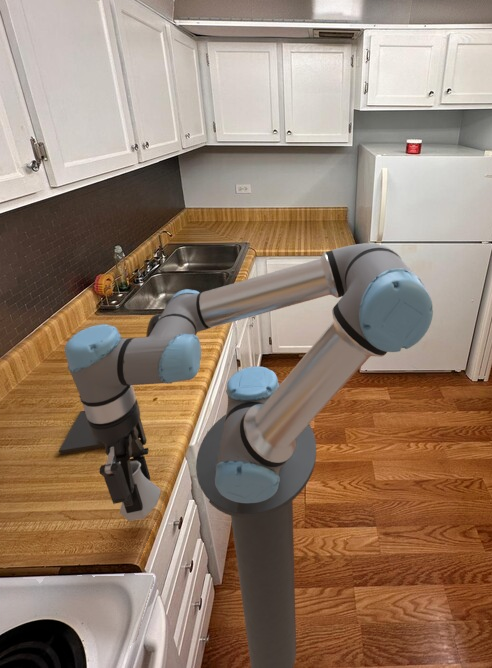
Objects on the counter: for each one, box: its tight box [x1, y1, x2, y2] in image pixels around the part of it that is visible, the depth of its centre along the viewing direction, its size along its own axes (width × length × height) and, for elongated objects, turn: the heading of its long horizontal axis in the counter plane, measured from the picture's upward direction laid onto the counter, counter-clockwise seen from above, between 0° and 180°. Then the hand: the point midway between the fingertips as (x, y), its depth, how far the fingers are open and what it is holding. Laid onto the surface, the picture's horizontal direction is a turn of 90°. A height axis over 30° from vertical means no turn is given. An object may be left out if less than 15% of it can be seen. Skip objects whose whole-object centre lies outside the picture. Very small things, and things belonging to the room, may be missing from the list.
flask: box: [119, 461, 162, 522], centre depth 65 cm, size 7×7×10 cm
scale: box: [58, 410, 105, 455], centre depth 88 cm, size 14×12×3 cm
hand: (139, 494), depth 66 cm, fingers closed on flask, 5 cm apart
